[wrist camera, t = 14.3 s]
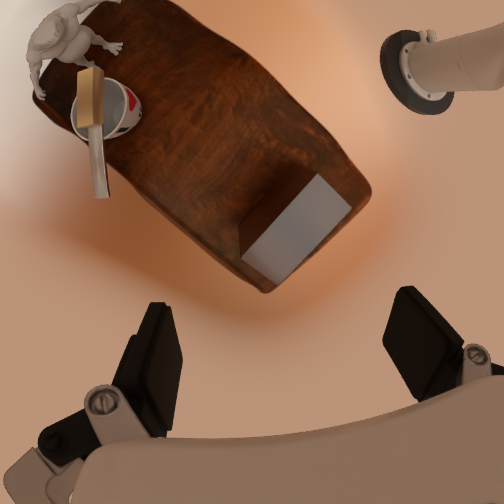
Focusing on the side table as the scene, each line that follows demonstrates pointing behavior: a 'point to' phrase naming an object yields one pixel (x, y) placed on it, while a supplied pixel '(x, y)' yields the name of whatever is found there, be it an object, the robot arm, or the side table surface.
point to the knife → (93, 125)
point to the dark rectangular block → (290, 222)
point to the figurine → (64, 40)
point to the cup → (114, 111)
